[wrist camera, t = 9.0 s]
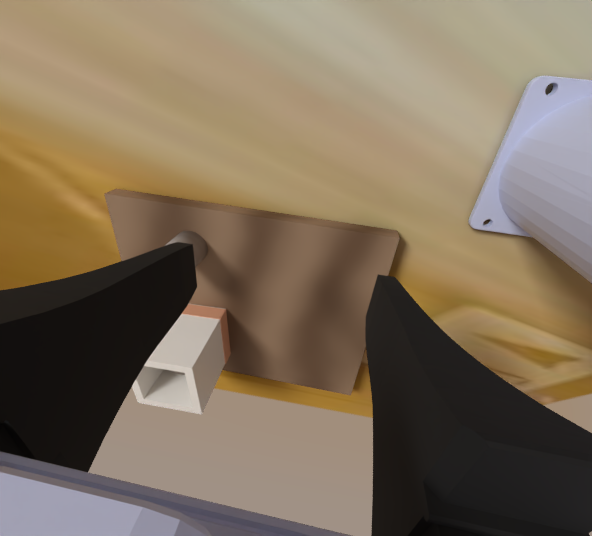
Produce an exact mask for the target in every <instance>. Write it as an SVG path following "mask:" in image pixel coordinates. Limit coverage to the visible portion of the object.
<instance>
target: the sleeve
mask: <svg viewBox="0 0 592 536" xmlns="http://www.w3.org/2000/svg"><path fill="white" fill-rule="evenodd" d="M230 354H231V351H230V342H229V332H228V323H227V313H226V309H223V308H215V307H208V306H201V305H194V304H188V305H187V307H186V308H185V310H184V311H183V313H182V314H181V315H180V317H179V318H178V319H177V321H176V322H175V323H174V325H173V326H172V327H171V329H170V330H169V331H168V333H167V334H166V335H165V337H164V338H163V339H162V341H161V342H160V343H159V345H158V346H157V347H156V349H155V350H154V351H153V353H152V354H151V356H150V357H149V359H148V360H147V362H146V363H145V365H144V367H143V368H142V370H141V372H140V373H139V375H138V377H137V378H136V380H135V382H134V383H133V385H132V388H133V391H134V393H135V396H136V398H137V401H138V403H143V404H148V405H154V406H159V407H165V408H170V409H176V410H181V411H187V412H192V413H198V414H202V412H203V410H204V409H205V406H206V404H207V402H208V400H209V398H210V395H211V393H212V391H213V389H214V387H215V385H216V382H217V380H218V378H219V376H220V374H221V372H222V369H223V367H224V365H225V364H226V363H227V361H228V358H229V356H230ZM170 370H171V371H177V372H183V373H185V375H180V374H176V373H173V372H171V371H170Z"/></svg>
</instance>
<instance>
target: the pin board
mask: <svg viewBox="0 0 592 536" xmlns="http://www.w3.org/2000/svg"><path fill="white" fill-rule="evenodd" d="M105 198H106V202H107V206H108V210H109V214H110V218H111V222H112V226H113V229H114V233H115V237H116V241H117V245H118V249H119V253H120V257H121V261H124V260H127V259H130V258H133V257H135V256H138V255H141V254H144V253H146V252H149V251H152V250H154V249H157V248H160V247H163V246H166V245H169V244H172V243H176V242H182V243H188V244H193V250H194V260H195V269H196V279H197V289H196V290H195V292H194V294H193V296H192V298H191V300H190V302H189V304H194V305H201V306H208V307H215V308H223V309H226V313H227V323H228V332H229V342H230V351H231V354H230V356H229V358H228V361H227V363H226V364H225V365H224V367H223V369H222V370H226V371H231V372H236V373H241V374H246V375H251V376H256V377H261V378H266V379H271V380H276V381H281V382H287V383H292V384H297V385H302V386H307V387H312V388H317V389H322V390H327V391H332V392H337V393H342V394H347V395H351V393H352V390H353V386H354V383H355V380H356V377H357V374H358V370H359V367H360V364H361V361H362V358H363V354H364V351H365V348H366V340H365V327H366V314H367V310H368V307H369V303H370V300H371V297H372V293H373V290H374V286H375V283H376V279H377V276H378V274H379V275H385V276H388V274H389V271H390V268H391V265H392V262H393V258H394V255H395V252H396V249H397V246H398V242H399V239H400V238H399V235H398V232H397V231H396V230H389V229H383V228H376V227H369V226H363V225H356V224H349V223H342V222H336V221H329V220H322V219H316V218H309V217H302V216H295V215H289V214H282V213H275V212H269V211H262V210H255V209H248V208H242V207H235V206H228V205H222V204H215V203H208V202H201V201H195V200H188V199H181V198H175V197H168V196H161V195H154V194H148V193H141V192H134V191H127V190H121V189H115V190H112V191H110V192H107V193H105ZM170 371H171V370H170ZM171 372H173V373H176V374H180V375H185V373H183V372H177V371H171Z"/></svg>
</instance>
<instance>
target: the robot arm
mask: <svg viewBox="0 0 592 536" xmlns="http://www.w3.org/2000/svg"><path fill="white" fill-rule="evenodd" d="M551 83H552V84H553V90H552V91H551V93H549V94H548V95H546V93H545V89H546V87H547V86H548V85H549V84H551ZM487 219H490V222H489V223H488V224H486V225H483V222H484V221H485V220H487ZM468 222H469V225H470V226H471V227H472V228H474V229H478V230H485V231H492V232H499V233H506V234H513V235H520V236H526V237H533V238H535V239H536V240H537V241H539V242H540V243H541V244H542V245H544V246H545V247H546V248H547V249H549V250H550V251H551V252H552V253H554V254H555V255H556V256H558V257H559V258H560V259H561V260H563V261H564V262H565V263H566V264H568V265H569V266H570V267H571V268H573V269H574V270H575V271H576V272H578V273H579V274H580V275H582V276H583V277H584V278H585V279H587V280H588V281H589V282H590V283H592V80H584V79H574V78H564V77H554V76H538V77H536V78H533V79H532V80H531V81H530V82H529V83H528V85H527V86H526V88H525V91H524V93H523V95H522V98H521V100H520V102H519V104H518V107H517V109H516V111H515V114H514V116H513V118H512V121H511V123H510V125H509V128H508V130H507V132H506V134H505V137H504V139H503V141H502V144H501V146H500V148H499V151H498V153H497V155H496V157H495V160H494V162H493V164H492V167H491V169H490V171H489V174H488V176H487V178H486V181H485V183H484V185H483V187H482V190H481V192H480V194H479V197H478V199H477V201H476V204H475V206H474V208H473V210H472V213H471V215H470V217H469V221H468ZM196 289H197V279H196V269H195V260H194V250H193V244H188V243H182V242H176V243H172V244H169V245H166V246H163V247H160V248H157V249H154V250H152V251H149V252H146V253H144V254H141V255H138V256H135V257H133V258H130V259H127V260H124V261H121V262H118V263H115V264H112V265H109V266H106V267H103V268H100V269H97V270H94V271H91V272H87V273H84V274H80V275H76V276H72V277H68V278H64V279H60V280H55V281H50V282H45V283H40V284H35V285H30V286H25V287H20V288H14V289H7V290H1V291H0V536H351V535H347V534H342V533H338V532H334V531H330V530H326V529H321V528H317V527H313V526H309V525H305V524H301V523H297V522H292V521H288V520H284V519H280V518H276V517H272V516H267V515H263V514H259V513H255V512H251V511H246V510H242V509H238V508H234V507H230V506H226V505H222V504H217V503H213V502H209V501H205V500H201V499H197V498H192V497H188V496H184V495H180V494H175V493H171V492H167V491H163V490H159V489H155V488H151V487H146V486H142V485H138V484H134V483H130V482H125V481H121V480H117V479H113V478H109V477H105V476H101V475H96V474H92V473H88V471H89V469H90V467H91V465H92V462H93V460H94V458H95V456H96V454H97V452H98V450H99V447H100V446H101V443H102V441H103V439H104V437H105V435H106V433H107V432H108V430H109V428H110V425H111V424H112V422H113V420H114V418H115V416H116V414H117V412H118V410H119V408H120V406H121V405H122V403H123V401H124V399H125V398H126V396H127V394H128V392H129V390H130V389H131V387H132V385H133V383H134V382H135V380H136V378H137V377H138V375H139V373H140V372H141V370H142V368H143V367H144V365H145V363H146V362H147V360H148V359H149V357H150V356H151V354H152V353H153V351H154V350H155V349H156V347H157V346H158V345H159V343H160V342H161V341H162V339H163V338H164V337H165V335H166V334H167V333H168V331H169V330H170V329H171V327H172V326H173V325H174V323H175V322H176V321H177V319H178V318H179V317H180V315H181V314H182V313H183V311H184V310H185V308H186V307H187V305H188V304H189V302H190V300H191V298H192V296H193V294H194V292H195V290H196ZM365 340H366V350H367V358H368V366H369V374H370V383H371V391H372V403H373V506H372V536H590V535H589V532H591V531H592V433H590V432H588V431H587V430H585V429H583V428H581V427H580V426H578V425H576V424H574V423H573V422H571V421H569V420H567V419H565V418H564V417H562V416H560V415H559V414H557V413H555V412H553V411H552V410H550V409H548V408H546V407H545V406H543V405H542V404H540V403H538V402H537V401H535V400H534V399H532V398H531V397H529V396H527V395H526V394H524V393H523V392H521V391H520V390H518V389H516V388H515V387H513V386H512V385H511V384H509V383H508V382H506V381H505V380H503V379H502V378H500V377H499V376H498V375H496V374H495V373H493V372H492V371H491V370H489V369H488V368H487V367H485V366H484V365H483V364H481V363H480V362H479V361H477V360H476V359H475V358H474V357H472V356H471V355H470V354H469V353H467V352H466V351H465V350H464V349H463V348H461V347H460V346H459V345H458V344H457V343H456V342H454V341H453V340H452V339H451V338H450V337H449V336H448V335H447V334H446V333H445V332H444V331H443V330H442V329H441V328H440V327H439V326H438V325H437V324H436V323H435V322H434V321H433V320H432V319H431V318H430V317H429V316H428V315H427V314H426V313H425V312H424V311H423V310H422V309H421V307H420V306H419V305H418V304H417V303H416V302H415V301H414V299H413V298H412V297H411V296H410V295H409V293H408V292H407V291H406V290H405V289H404V287H403V286H402V285H401V284H400V283H399V281H398V280H397V279H396V278H395V277H391V276H385V275H379V274H378V276H377V279H376V283H375V286H374V290H373V293H372V297H371V300H370V303H369V307H368V310H367V314H366V327H365Z"/></svg>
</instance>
